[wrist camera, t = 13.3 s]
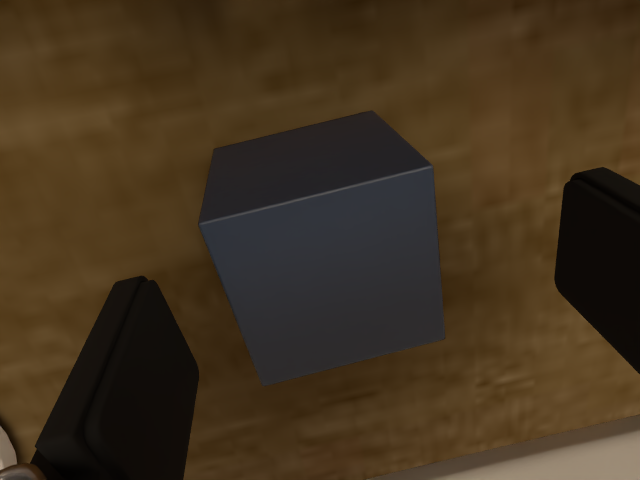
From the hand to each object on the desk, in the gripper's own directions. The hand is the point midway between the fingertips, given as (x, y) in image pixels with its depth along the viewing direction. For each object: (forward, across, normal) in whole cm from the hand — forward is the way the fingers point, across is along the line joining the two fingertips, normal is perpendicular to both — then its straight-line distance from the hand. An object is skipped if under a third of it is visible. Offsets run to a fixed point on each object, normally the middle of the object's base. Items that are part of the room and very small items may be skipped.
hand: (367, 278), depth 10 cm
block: (+5, +1, 0) cm, 5 cm away
